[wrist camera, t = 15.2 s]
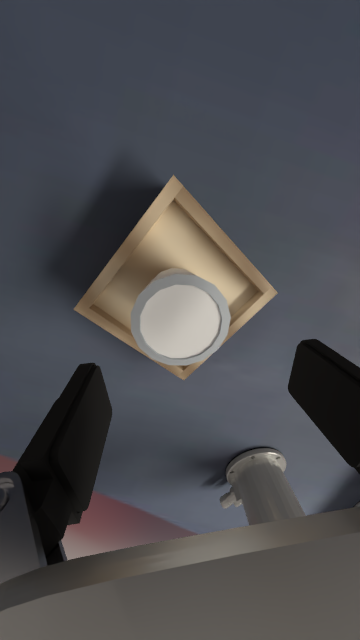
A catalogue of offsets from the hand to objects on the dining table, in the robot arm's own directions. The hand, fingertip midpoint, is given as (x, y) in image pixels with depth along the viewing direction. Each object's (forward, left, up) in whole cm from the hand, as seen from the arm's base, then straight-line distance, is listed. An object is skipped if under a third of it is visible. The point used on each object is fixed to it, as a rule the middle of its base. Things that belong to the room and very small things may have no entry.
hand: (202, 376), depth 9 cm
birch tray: (0, 0, -16) cm, 16 cm away
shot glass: (0, 0, -12) cm, 12 cm away
